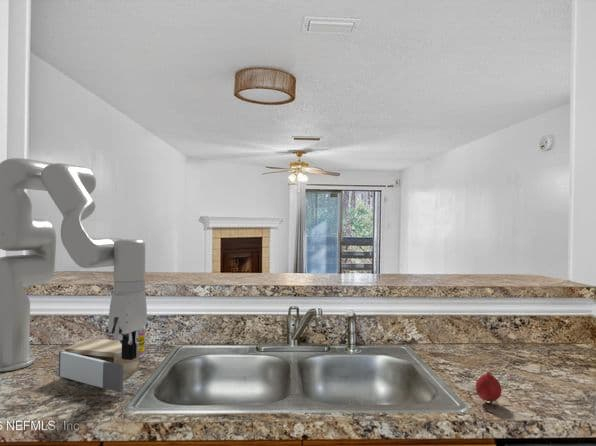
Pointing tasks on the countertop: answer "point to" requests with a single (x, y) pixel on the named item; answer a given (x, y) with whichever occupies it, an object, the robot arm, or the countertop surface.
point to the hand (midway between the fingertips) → (129, 358)
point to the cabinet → (106, 353)
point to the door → (91, 371)
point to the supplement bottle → (141, 342)
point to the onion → (488, 387)
